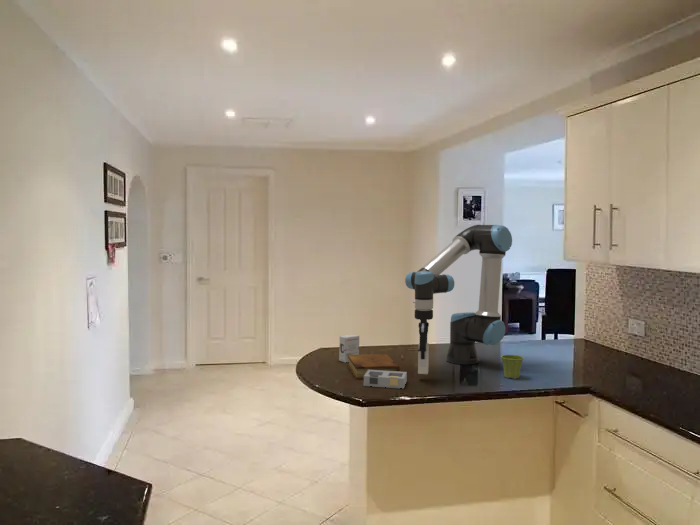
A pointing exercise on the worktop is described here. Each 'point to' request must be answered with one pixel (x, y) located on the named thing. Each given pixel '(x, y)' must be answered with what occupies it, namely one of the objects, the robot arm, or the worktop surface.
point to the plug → (425, 369)
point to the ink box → (348, 347)
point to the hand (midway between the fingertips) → (423, 365)
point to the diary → (370, 364)
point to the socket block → (385, 379)
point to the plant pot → (512, 365)
